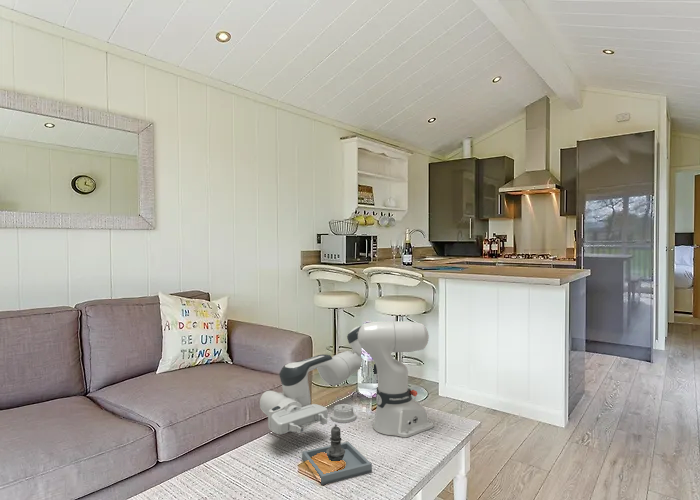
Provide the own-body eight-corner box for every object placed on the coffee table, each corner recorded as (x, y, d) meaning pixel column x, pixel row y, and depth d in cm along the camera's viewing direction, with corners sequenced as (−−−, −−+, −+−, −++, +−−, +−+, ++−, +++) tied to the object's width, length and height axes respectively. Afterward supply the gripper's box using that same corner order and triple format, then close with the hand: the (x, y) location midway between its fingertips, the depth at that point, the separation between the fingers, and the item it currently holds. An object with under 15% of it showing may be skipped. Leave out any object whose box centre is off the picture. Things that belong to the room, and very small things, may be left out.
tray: (348, 449, 146) (348, 441, 145) (371, 472, 131) (371, 463, 131) (302, 459, 138) (302, 451, 138) (321, 485, 124) (321, 476, 124)
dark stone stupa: (339, 469, 131) (339, 429, 131) (322, 464, 134) (322, 425, 133) (348, 461, 136) (348, 422, 136) (332, 456, 139) (332, 418, 139)
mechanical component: (327, 422, 167) (353, 424, 165) (327, 410, 167) (353, 412, 165) (333, 412, 177) (358, 414, 175) (333, 401, 177) (358, 403, 175)
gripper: (313, 414, 160) (338, 426, 150) (264, 430, 147) (287, 445, 136) (313, 396, 160) (338, 408, 150) (264, 411, 147) (287, 425, 136)
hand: (313, 426), depth 143 cm, fingers open, 8 cm apart
